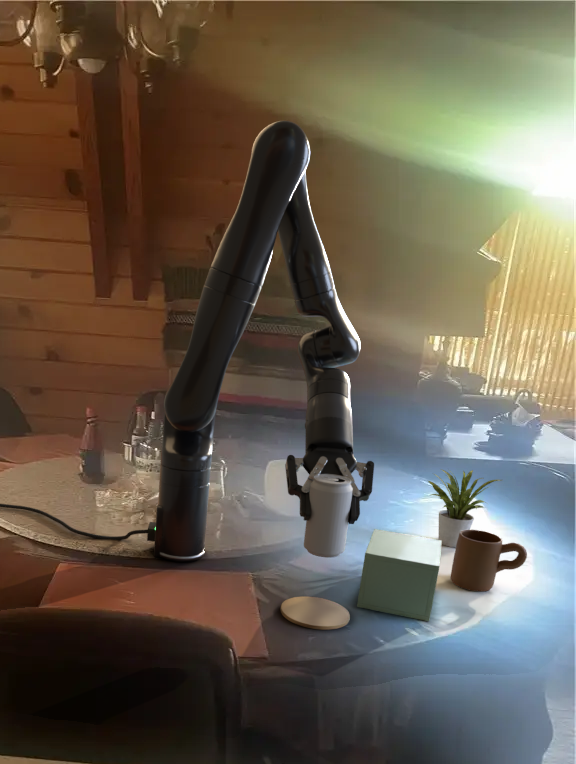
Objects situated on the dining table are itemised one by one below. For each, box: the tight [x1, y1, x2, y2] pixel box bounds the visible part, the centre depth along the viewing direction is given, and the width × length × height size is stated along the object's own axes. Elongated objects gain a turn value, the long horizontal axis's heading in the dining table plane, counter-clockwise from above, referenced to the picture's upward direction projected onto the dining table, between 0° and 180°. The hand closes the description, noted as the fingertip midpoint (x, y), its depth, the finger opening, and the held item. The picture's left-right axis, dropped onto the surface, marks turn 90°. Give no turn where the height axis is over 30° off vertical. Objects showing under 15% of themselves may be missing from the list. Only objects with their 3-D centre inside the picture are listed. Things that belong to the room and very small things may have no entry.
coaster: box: [280, 596, 351, 631], centre depth 121 cm, size 11×11×1 cm
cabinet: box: [356, 528, 443, 622], centre depth 128 cm, size 14×12×10 cm
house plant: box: [427, 468, 502, 548], centre depth 158 cm, size 14×14×16 cm
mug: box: [450, 529, 528, 592], centre depth 137 cm, size 12×8×9 cm, turn 71°
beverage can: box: [303, 474, 353, 559], centre depth 116 cm, size 6×6×12 cm
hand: (329, 519), depth 115 cm, fingers closed on beverage can, 6 cm apart
